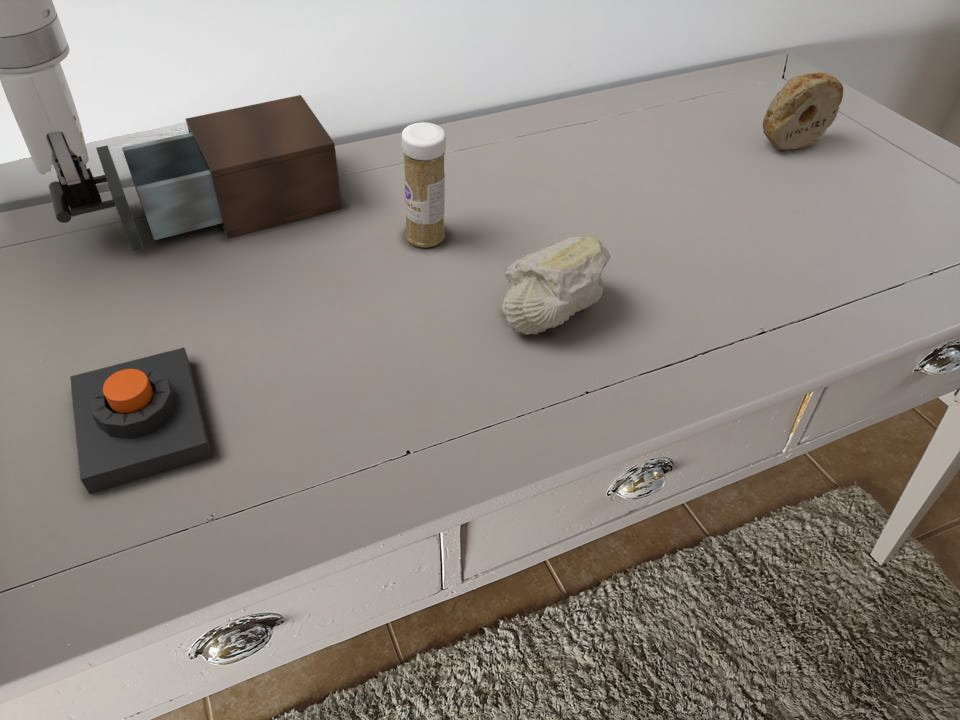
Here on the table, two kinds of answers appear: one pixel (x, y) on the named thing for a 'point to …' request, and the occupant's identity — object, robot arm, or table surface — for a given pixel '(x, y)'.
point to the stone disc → (802, 110)
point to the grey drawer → (155, 189)
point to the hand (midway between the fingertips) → (87, 206)
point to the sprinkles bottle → (424, 183)
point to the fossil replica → (554, 284)
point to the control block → (138, 424)
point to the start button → (128, 390)
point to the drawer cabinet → (268, 163)
